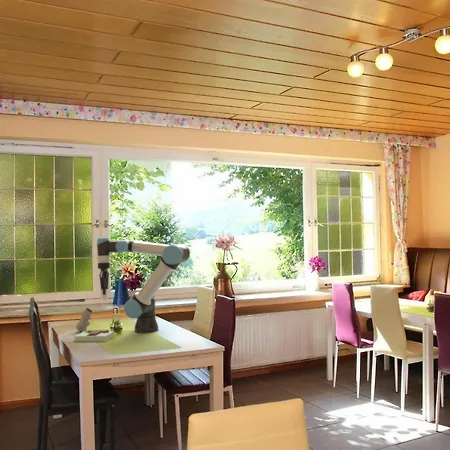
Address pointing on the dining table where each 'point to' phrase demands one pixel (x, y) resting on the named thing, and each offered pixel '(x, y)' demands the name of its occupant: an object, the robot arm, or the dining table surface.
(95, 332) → the t block
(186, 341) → the dining table surface
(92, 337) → the slot frame
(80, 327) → the figurine
